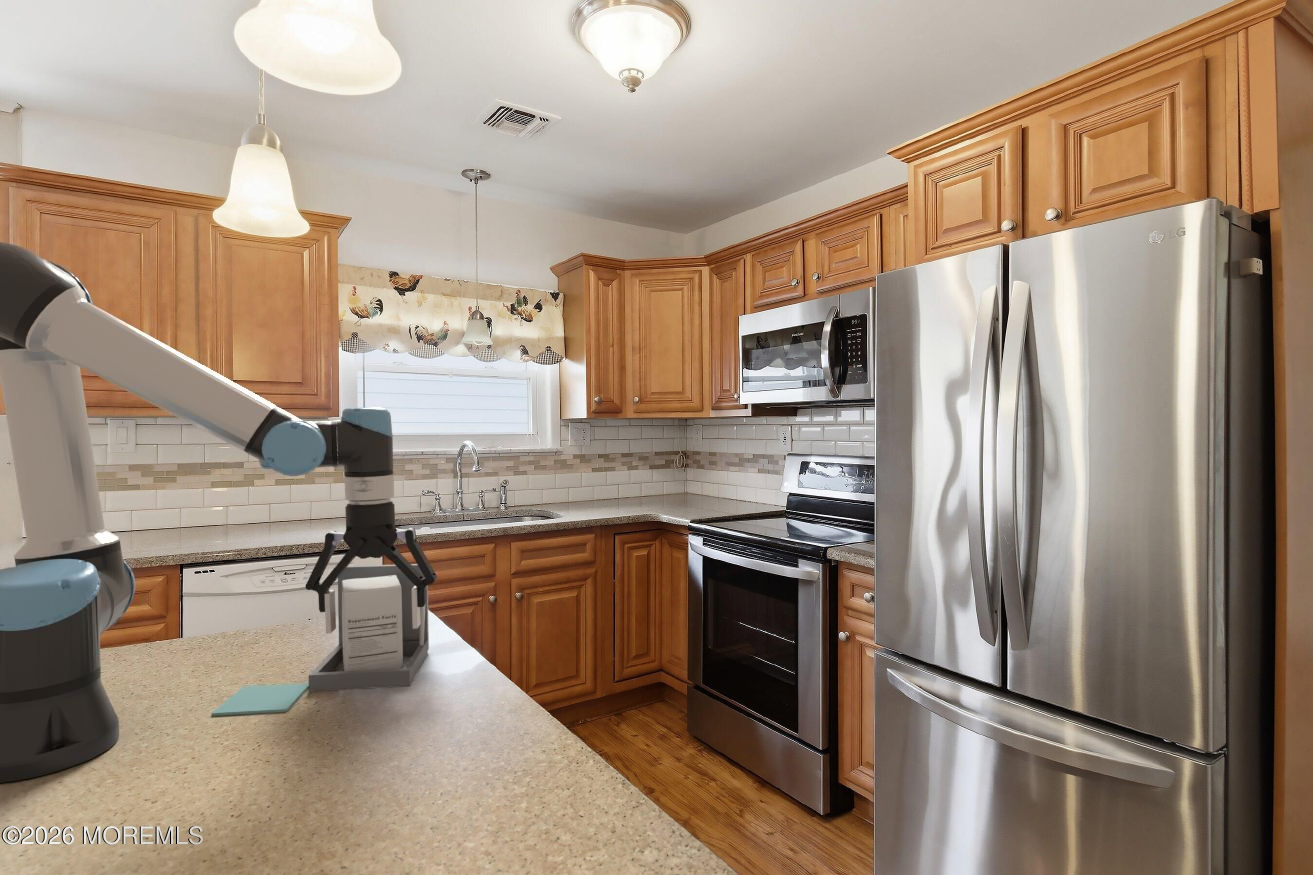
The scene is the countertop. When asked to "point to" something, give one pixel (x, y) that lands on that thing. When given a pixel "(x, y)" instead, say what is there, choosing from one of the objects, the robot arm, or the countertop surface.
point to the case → (412, 640)
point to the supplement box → (372, 623)
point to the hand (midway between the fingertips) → (374, 628)
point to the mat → (262, 699)
